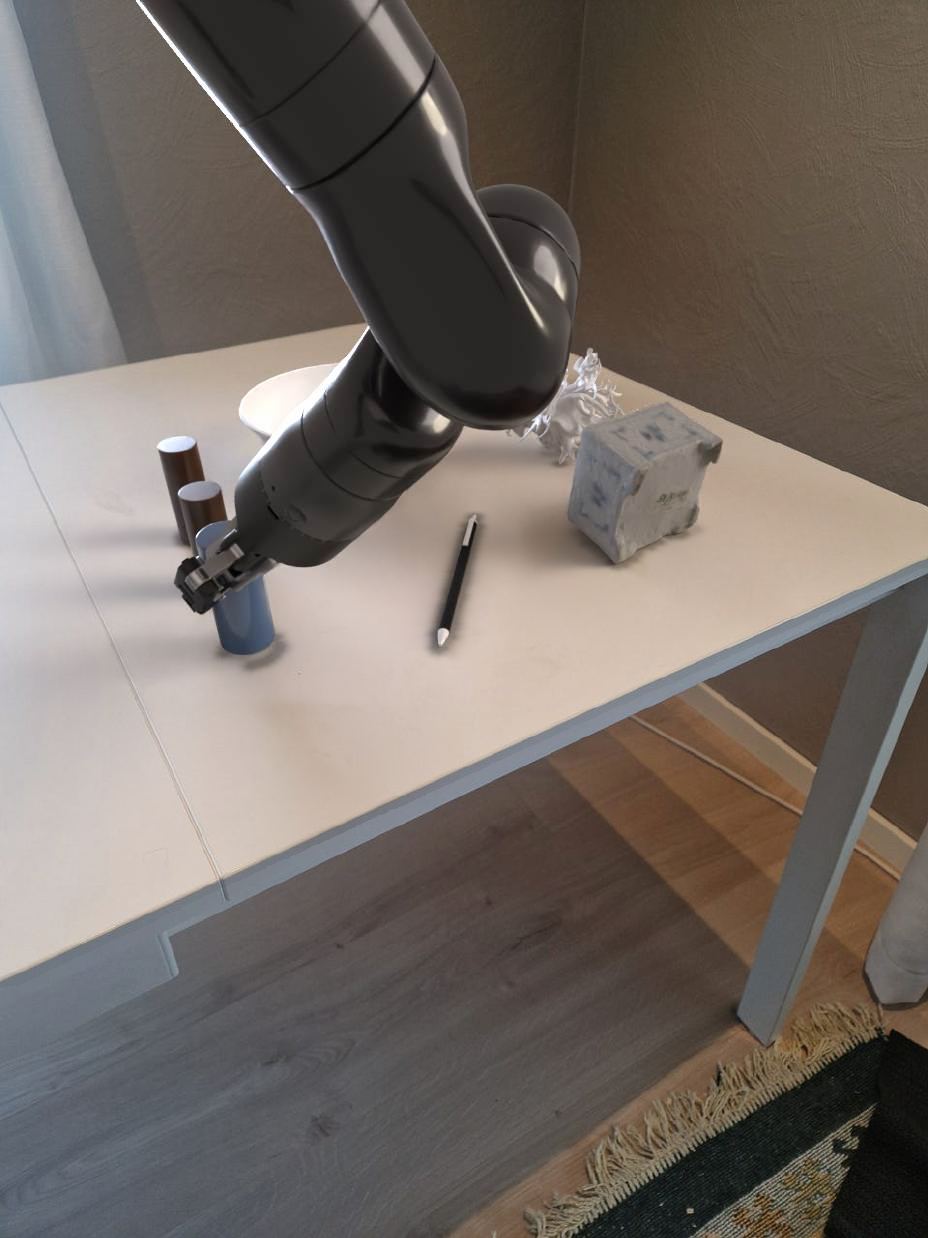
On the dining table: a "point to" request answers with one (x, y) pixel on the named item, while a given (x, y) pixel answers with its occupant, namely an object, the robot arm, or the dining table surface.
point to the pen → (456, 581)
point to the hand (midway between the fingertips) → (219, 585)
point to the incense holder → (640, 478)
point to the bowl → (280, 399)
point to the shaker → (240, 607)
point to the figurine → (572, 410)
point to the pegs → (190, 489)
